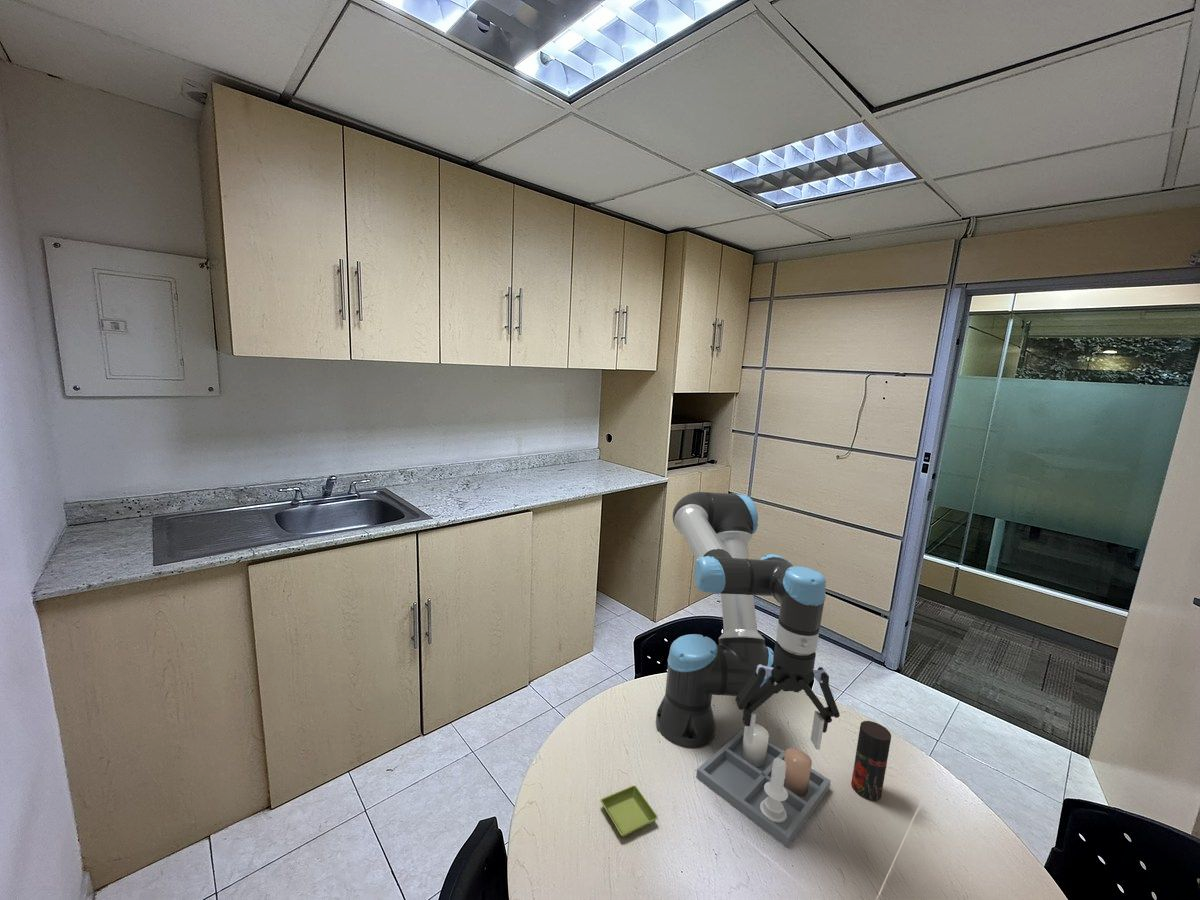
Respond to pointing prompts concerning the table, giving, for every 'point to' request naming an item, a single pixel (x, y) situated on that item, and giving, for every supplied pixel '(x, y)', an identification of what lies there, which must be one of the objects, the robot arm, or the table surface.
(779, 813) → the white peg
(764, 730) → the glossy white egg
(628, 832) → the green square dish
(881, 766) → the deodorant
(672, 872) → the table surface
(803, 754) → the glossy peach egg
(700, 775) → the holder tray
